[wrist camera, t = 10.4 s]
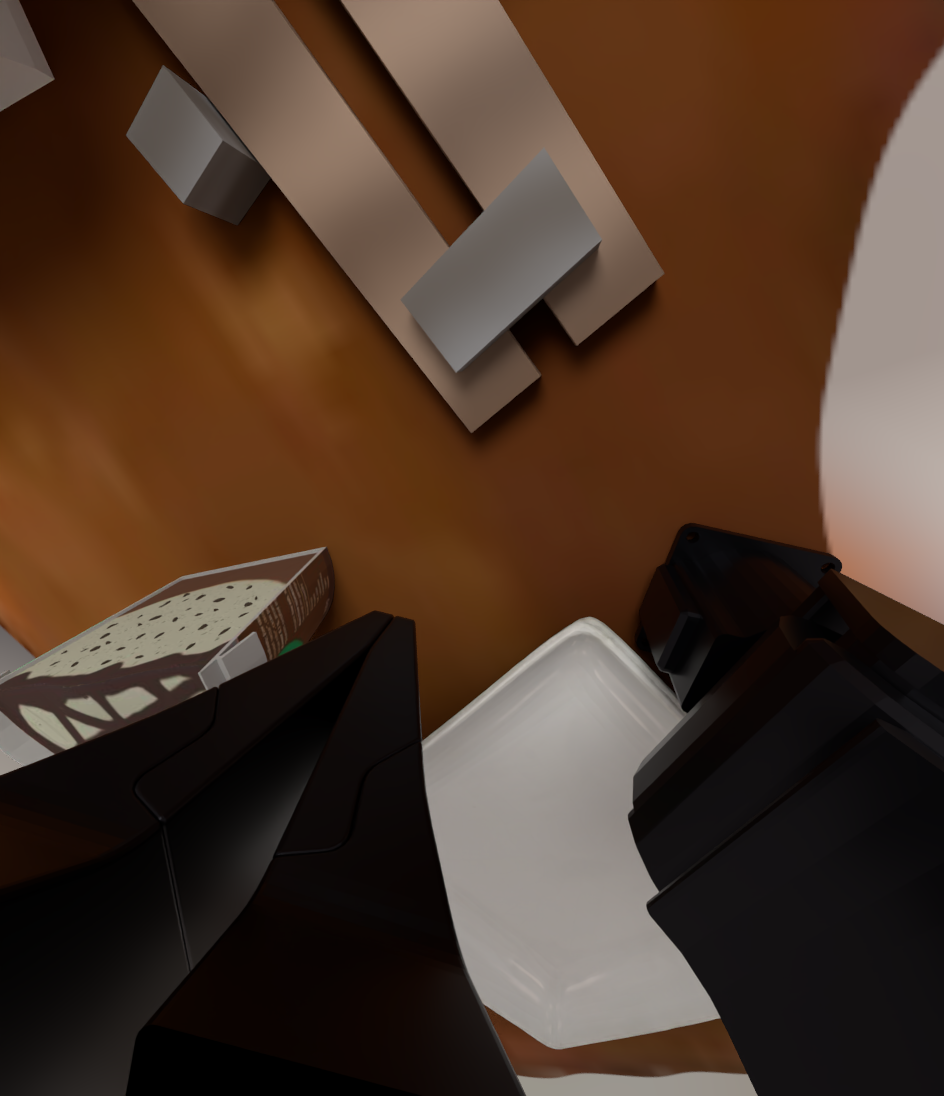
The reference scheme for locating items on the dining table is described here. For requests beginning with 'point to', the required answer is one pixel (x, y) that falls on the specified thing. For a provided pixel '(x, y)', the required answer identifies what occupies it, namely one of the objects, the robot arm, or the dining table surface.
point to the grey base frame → (381, 195)
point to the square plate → (559, 844)
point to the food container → (163, 652)
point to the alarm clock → (19, 56)
